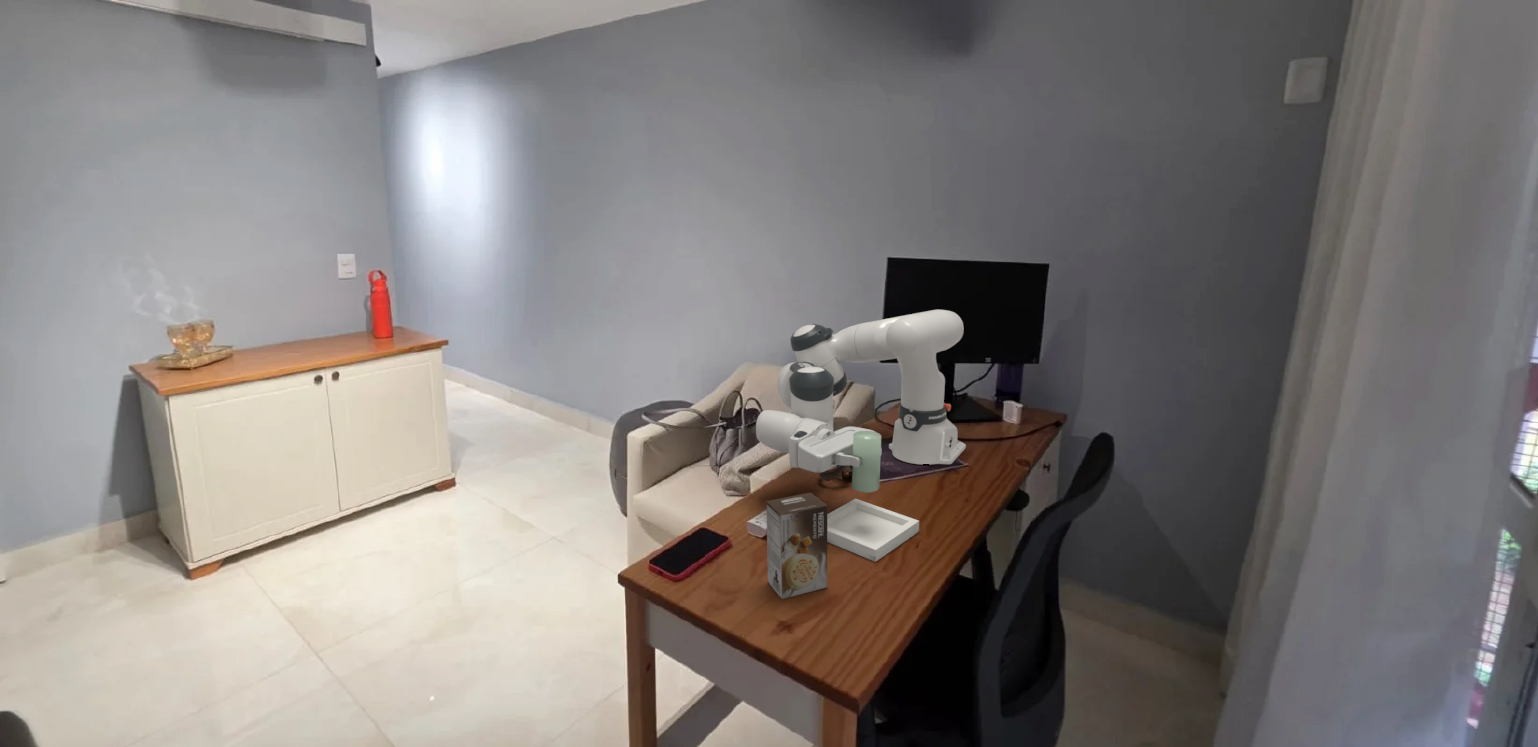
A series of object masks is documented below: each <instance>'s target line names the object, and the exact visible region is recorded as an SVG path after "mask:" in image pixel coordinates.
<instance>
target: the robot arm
mask: <svg viewBox="0 0 1538 747" xmlns="http://www.w3.org/2000/svg"><path fill="white" fill-rule="evenodd" d="M833 332H834V330H833V329H832V328H831V327H825V326H823V325H821V324H817V323H812V324H811V323H810V324H807V325H803V326H800V327H799V328H798V329H797V330H796V331H795V332H794V333H793V334H792V335H791V336H790V347H791V349H792V351H793V352H794V354H795V358H796V361H797V362H789V363H788V364H786V365H784V366H782V368H781V370H780V371H779V374H778V376H777V391H778V395H779V398H780V400H781V402H782V403H783V404H784V405H785V406H786V407H787V408H788V409H790V410H791V412H786V411H781V410H774V409H764V410H763V411H761V412H760V414H758V417H757V419H756V421H755V422H756V423H755V436H756V439H757V440H758V441H759V442H760V443H761V444H763V445H764V446H766V447H768V448H770V449H772V450H775V451H777V452H780V453H783V454H788V456H789V466H790V467H791V468H795V469H799V468H800V469H802V470H805V471H808V472H812V473H815V474H818V473H819V474H820V473H821V472H825V471H827V470H832V469H834V467H835V468H836V466H837V465H851V466H855V467H858V466H860V465H862V457H860V456H857V455H854V456H853V434H854V433H856V432H859V431H873V432H876V431H875V430H872V429H868V428H863V427H860V426H859V427H858V426H845V427H841V428H839V429H836V430H835V431H834V397H835V396H838V395H839V394H840V393H842V392H843V391H844V390H845V389H846V388H847V385H848V378H847V374H846V372H845V371H844V369H843V365H842V362H848V363H856V364H857V363H871V362H878V361H887V360H895V359H896V361H897V363H898V366H899V370H900V376H901V389H900V391H901V392H900V395H901V396H900V402H899V406H898V419H896V420H895V422H894V428H893V435H892V436H893V437H892V442H891V443H889V444H888V448H889V450H891V454H892V456H893V457H894V458H896V459H897V460H900V461H902V462H905V463H909V464H914V465H923V464H929V465H952V464H953V463H954V461H956V459H957V458H958V457H959V456H960V455H961V454H962V453H963V452H964V451H965V449H966V448H967V445H966V444H965V443H964V442H962V441H960V440H958V438H959V437H958V436H959V435H958V434H959V432H958V428H957V427H956V426H955V424H954V423H952V422H951V421H950V420H949V419H948V418H947V412H950V411H951V409H952V405H951V403H946V402H945V401H944V400H945V391H946V390H945V385H946V377H945V375H944V374H943V373H942V372H941V371H939V367H938V362H937V353H940V352H943V351H947V350H948V349H950V348H952V347H954V346H955V345H957V343H958V342H960V341H961V339H962V338H963V336H964V333H965V332H964V321H963V320H962V318H961V317H960V316H959V314H957V313H956V312H954V311H951V310H948V309H947V310H946V309H932V310H927V311H921V312H915V313H912V314H911V313H910V314H905V315H899V316H895V317H894V316H893V317H890V318H885V319H884V318H883V319H877V320H873V321H867V322H862V323H857V324H854V325H851V326H848V327H845V328H843V329H841V330H839V331H838V332H836V333H834V334H833ZM882 450H883V449H882V448H881V456H882V452H883V451H882Z"/></svg>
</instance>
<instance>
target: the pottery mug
mask: <svg viewBox="0 0 1538 747" xmlns="http://www.w3.org/2000/svg"><path fill="white" fill-rule="evenodd" d="M852 467H853V466H851V465H837V466H835V468H834V467H833V468H831V469H829V470H827V471H825V472H821V473H819V480H820V481H821V482H822V481H825V482H829V481H834V480H841V481H843V475H842V474H843V472H844V473H848V476H849V477H850V476H851V477H852Z"/></svg>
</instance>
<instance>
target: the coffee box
mask: <svg viewBox="0 0 1538 747" xmlns="http://www.w3.org/2000/svg"><path fill="white" fill-rule="evenodd" d="M765 504H766V539H767V540H766V542H767V543H766V544H767V546H766V547H767V548H766V550H767V553H766V554H767V583H768V584H769V585H770V586H771V587H772V589H773V590H774V591H775V592H776V594H777V595H778V596H779V597H780V599H782V600H784V599H788V598H792V597H796V596H799V595H803V594H807V593H810V592H815V591H818V590H822V589H826V588H828V542H827V514H828V504H826V503H825V502H824V501H822V500H821V499H820V498H819V497H818V496H815V495H814V493H812V492H806V493H801V494H797V495H792V496H791V495H790V496H785V497H782V498H781V497H780V498H777V499H771V500H766V501H765Z"/></svg>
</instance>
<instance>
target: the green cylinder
mask: <svg viewBox="0 0 1538 747" xmlns="http://www.w3.org/2000/svg"><path fill="white" fill-rule="evenodd" d="M873 431H874V430H873ZM873 431H859V432H856V433H854V434H853V456H854V455H857V456H860V457H862V465H860V466H858V467H855V466H853V467H852V476H851V477H852V478H851V487H852V489H853V490H855V491H857V492H861V493H874V492H876V491H878V490H880V478H881V477H880V476H881V456H882V455H881V449H882V434H880V433H879V432H877V431H875V432H873Z"/></svg>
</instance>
